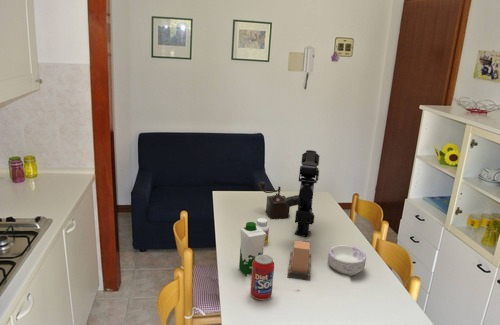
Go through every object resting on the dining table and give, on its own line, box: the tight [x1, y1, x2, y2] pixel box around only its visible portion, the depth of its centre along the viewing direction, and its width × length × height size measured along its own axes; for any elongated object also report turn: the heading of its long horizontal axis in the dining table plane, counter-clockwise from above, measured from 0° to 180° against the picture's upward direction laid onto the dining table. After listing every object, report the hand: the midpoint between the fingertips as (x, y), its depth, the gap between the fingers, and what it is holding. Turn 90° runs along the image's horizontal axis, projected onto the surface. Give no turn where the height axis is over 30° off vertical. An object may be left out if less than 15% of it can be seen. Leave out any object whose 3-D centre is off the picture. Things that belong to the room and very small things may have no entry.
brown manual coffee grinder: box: [258, 181, 291, 220], centre depth 220 cm, size 16×11×18 cm
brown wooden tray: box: [286, 251, 312, 282], centre depth 169 cm, size 18×9×4 cm, turn 171°
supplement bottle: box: [256, 217, 270, 247], centre depth 186 cm, size 7×7×13 cm
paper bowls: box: [327, 244, 367, 277], centre depth 171 cm, size 15×15×8 cm
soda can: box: [250, 254, 275, 301], centre depth 149 cm, size 8×8×15 cm
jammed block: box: [291, 240, 311, 274], centre depth 164 cm, size 6×6×12 cm
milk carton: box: [238, 221, 266, 277], centre depth 164 cm, size 9×9×20 cm
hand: (303, 224), depth 184 cm, fingers closed
